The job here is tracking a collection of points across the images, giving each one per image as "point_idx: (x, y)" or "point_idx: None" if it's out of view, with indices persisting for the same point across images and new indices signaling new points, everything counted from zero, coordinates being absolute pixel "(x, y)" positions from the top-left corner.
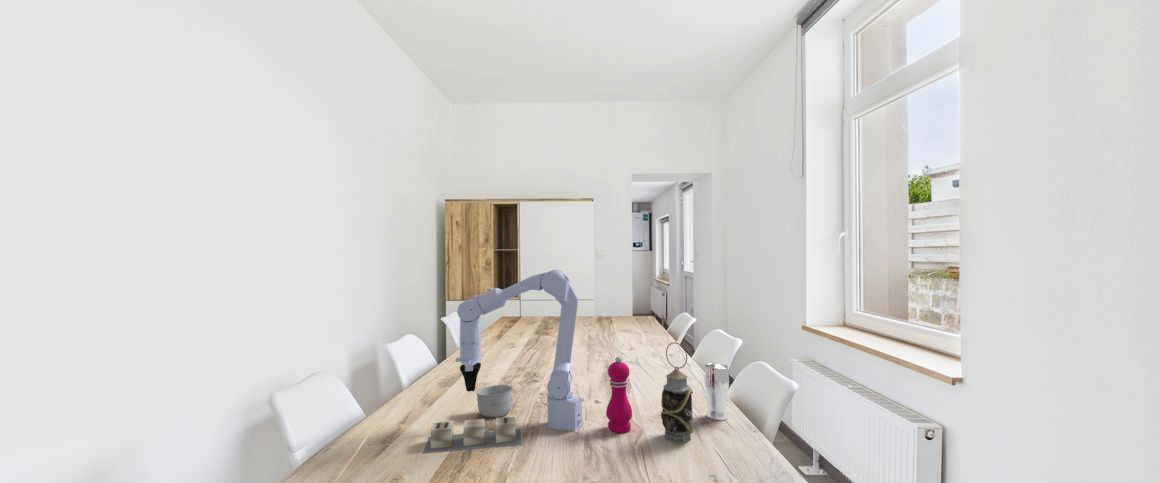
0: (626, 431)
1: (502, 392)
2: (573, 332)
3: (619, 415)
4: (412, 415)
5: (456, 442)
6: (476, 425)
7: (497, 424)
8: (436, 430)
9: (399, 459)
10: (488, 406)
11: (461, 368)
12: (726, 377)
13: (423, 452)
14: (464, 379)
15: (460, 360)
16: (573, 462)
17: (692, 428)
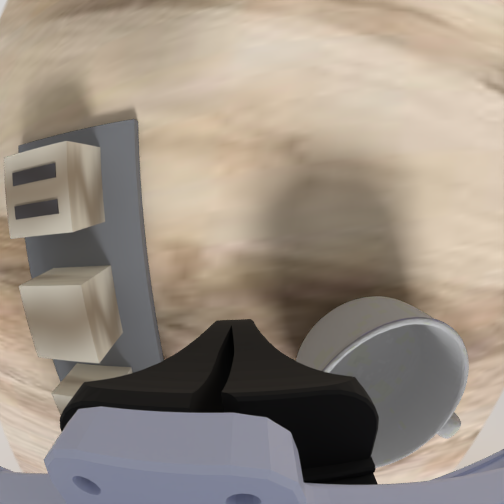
0: None
1: (431, 400)
2: None
3: None
4: (407, 24)
5: (73, 239)
6: (38, 332)
7: (56, 398)
8: (6, 180)
9: (24, 85)
10: (302, 363)
11: (61, 414)
12: None
13: (23, 146)
14: (171, 356)
15: (42, 501)
16: (44, 468)
17: None
